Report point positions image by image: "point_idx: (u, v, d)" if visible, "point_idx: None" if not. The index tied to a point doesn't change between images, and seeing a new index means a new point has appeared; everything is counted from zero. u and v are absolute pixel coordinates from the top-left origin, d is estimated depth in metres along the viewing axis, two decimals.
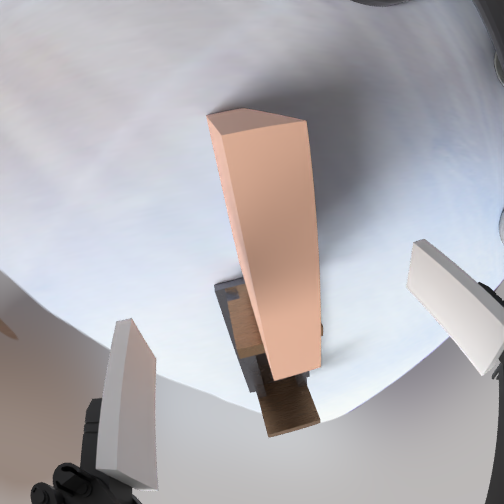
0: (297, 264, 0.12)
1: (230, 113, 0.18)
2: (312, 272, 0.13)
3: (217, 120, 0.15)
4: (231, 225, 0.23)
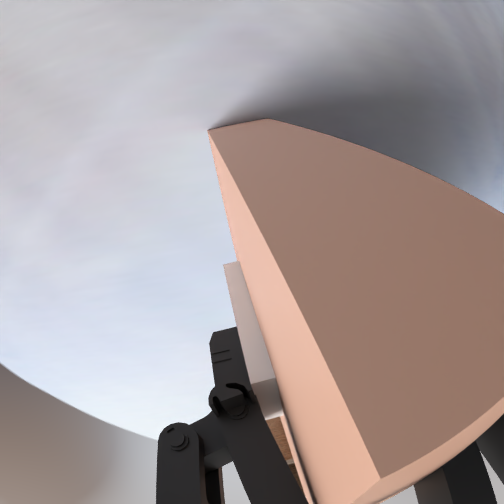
0: (405, 487, 0.04)
1: (254, 131, 0.10)
2: (419, 480, 0.04)
3: (237, 156, 0.07)
4: None
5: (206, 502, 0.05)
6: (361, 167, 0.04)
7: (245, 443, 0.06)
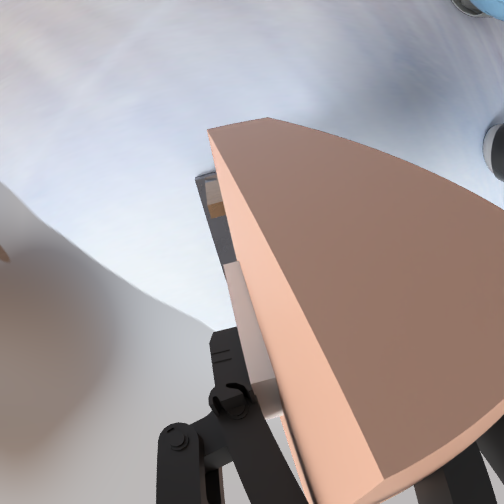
0: (406, 488, 0.04)
1: (254, 130, 0.10)
2: (420, 480, 0.04)
3: (237, 154, 0.06)
4: None
5: (206, 502, 0.05)
6: (361, 165, 0.04)
7: (245, 443, 0.06)
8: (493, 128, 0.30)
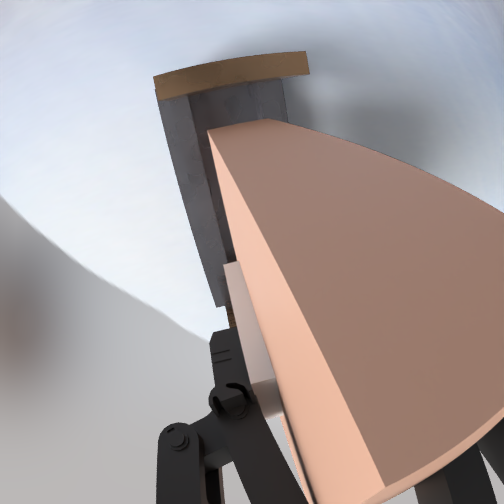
0: (406, 489, 0.04)
1: (254, 131, 0.10)
2: (420, 481, 0.04)
3: (237, 156, 0.06)
4: None
5: (206, 502, 0.05)
6: (362, 167, 0.04)
7: (245, 443, 0.06)
8: None
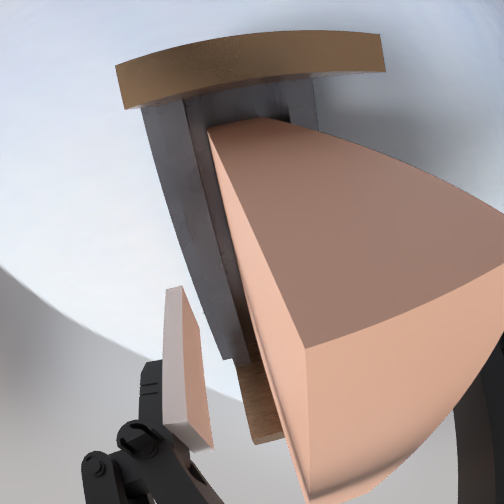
0: (389, 461, 0.05)
1: (248, 128, 0.10)
2: (404, 456, 0.05)
3: (230, 149, 0.07)
4: (245, 294, 0.16)
5: None
6: (334, 154, 0.05)
7: (160, 479, 0.05)
8: None
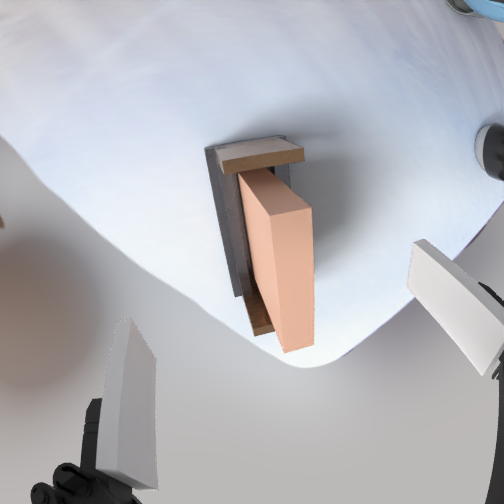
0: (302, 279, 0.22)
1: (257, 175, 0.28)
2: (310, 284, 0.23)
3: (253, 187, 0.25)
4: (251, 249, 0.33)
5: None
6: (281, 192, 0.23)
7: None
8: (485, 127, 0.33)
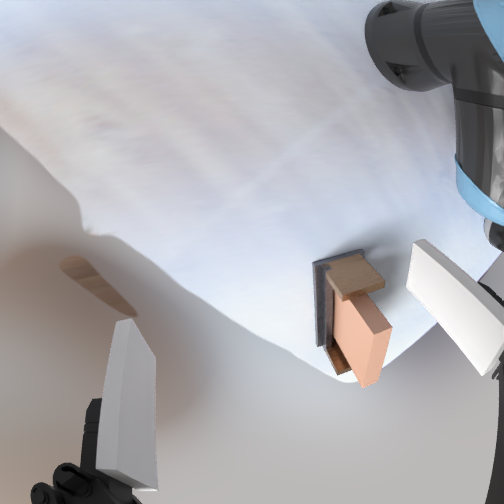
0: (380, 355, 0.37)
1: None
2: (383, 356, 0.38)
3: (354, 303, 0.40)
4: (337, 323, 0.49)
5: None
6: (373, 310, 0.38)
7: None
8: None
